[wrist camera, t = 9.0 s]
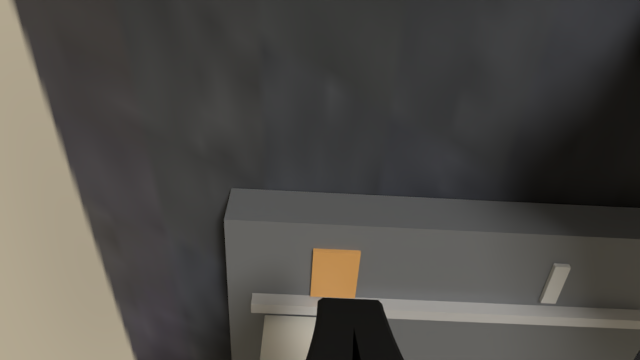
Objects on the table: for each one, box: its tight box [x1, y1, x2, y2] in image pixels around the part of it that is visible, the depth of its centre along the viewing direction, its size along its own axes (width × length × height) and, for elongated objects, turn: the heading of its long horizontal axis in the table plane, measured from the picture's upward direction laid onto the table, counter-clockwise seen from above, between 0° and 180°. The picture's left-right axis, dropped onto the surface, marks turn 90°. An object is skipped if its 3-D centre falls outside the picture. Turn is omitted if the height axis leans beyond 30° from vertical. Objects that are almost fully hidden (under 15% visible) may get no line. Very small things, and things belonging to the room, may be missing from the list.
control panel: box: [224, 188, 640, 360], centre depth 25 cm, size 18×14×3 cm
